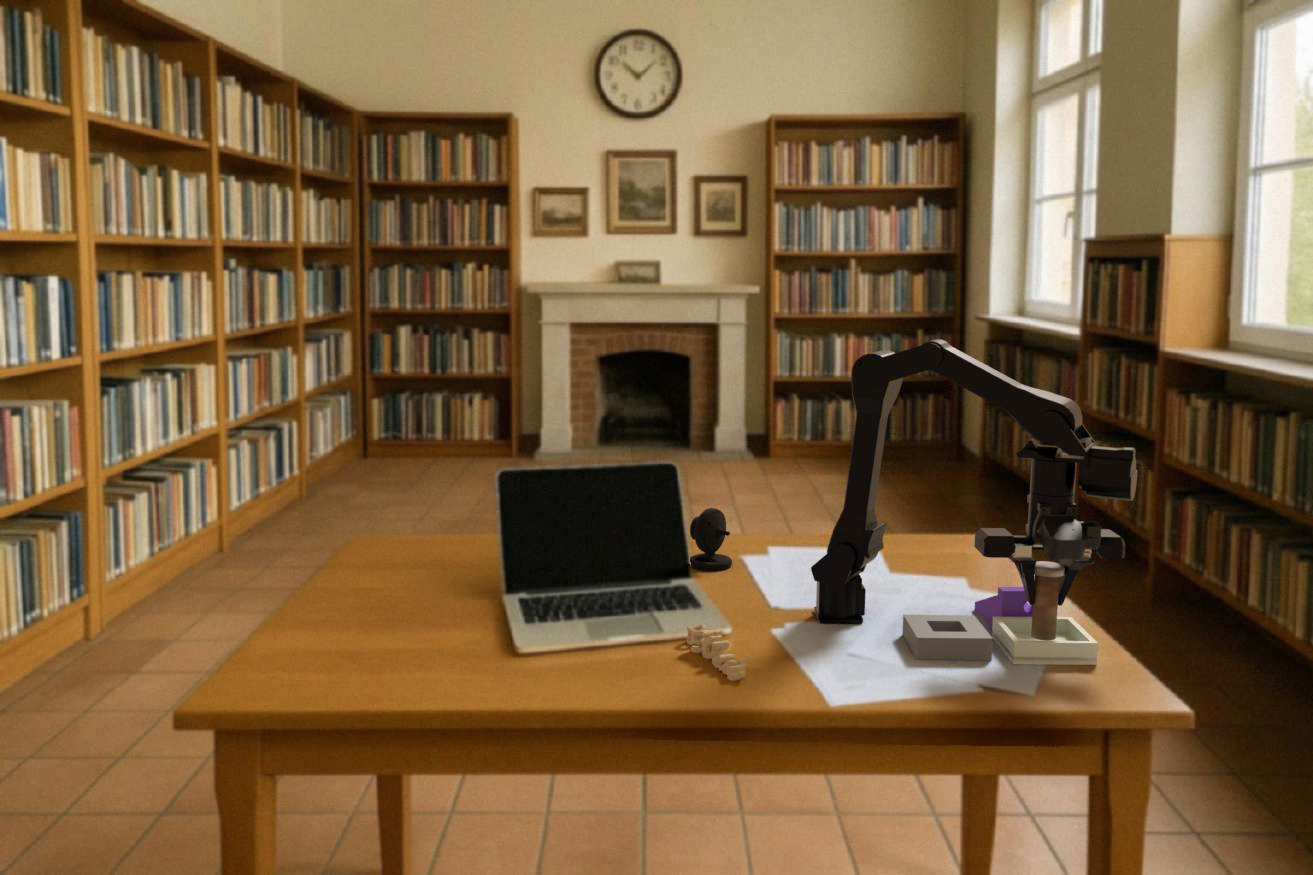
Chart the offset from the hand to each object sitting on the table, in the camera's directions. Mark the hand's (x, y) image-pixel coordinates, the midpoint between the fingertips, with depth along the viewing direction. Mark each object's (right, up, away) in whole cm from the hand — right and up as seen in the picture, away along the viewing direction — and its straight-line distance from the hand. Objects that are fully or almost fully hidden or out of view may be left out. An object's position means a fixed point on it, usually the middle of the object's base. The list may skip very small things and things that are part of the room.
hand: (1045, 604), depth 167 cm
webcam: (-44, +1, +43) cm, 61 cm away
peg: (0, -4, +1) cm, 5 cm away
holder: (-13, -6, +2) cm, 15 cm away
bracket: (-1, -5, +13) cm, 14 cm away
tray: (0, -6, +1) cm, 6 cm away
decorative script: (-45, -7, -3) cm, 46 cm away
